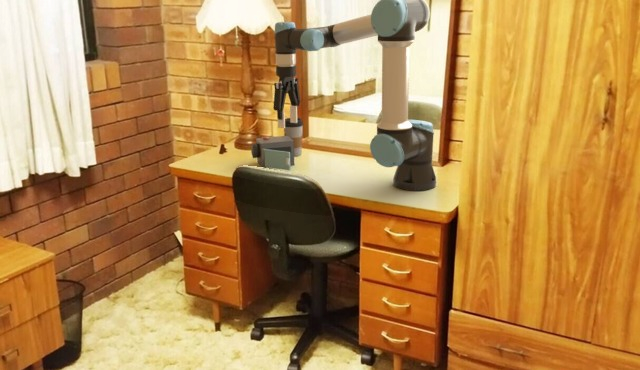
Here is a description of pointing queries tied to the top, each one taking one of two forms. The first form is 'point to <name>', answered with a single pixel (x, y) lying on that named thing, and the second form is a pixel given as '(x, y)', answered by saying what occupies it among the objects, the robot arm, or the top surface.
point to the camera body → (273, 146)
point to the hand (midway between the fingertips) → (287, 125)
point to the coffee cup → (295, 134)
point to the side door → (276, 159)
